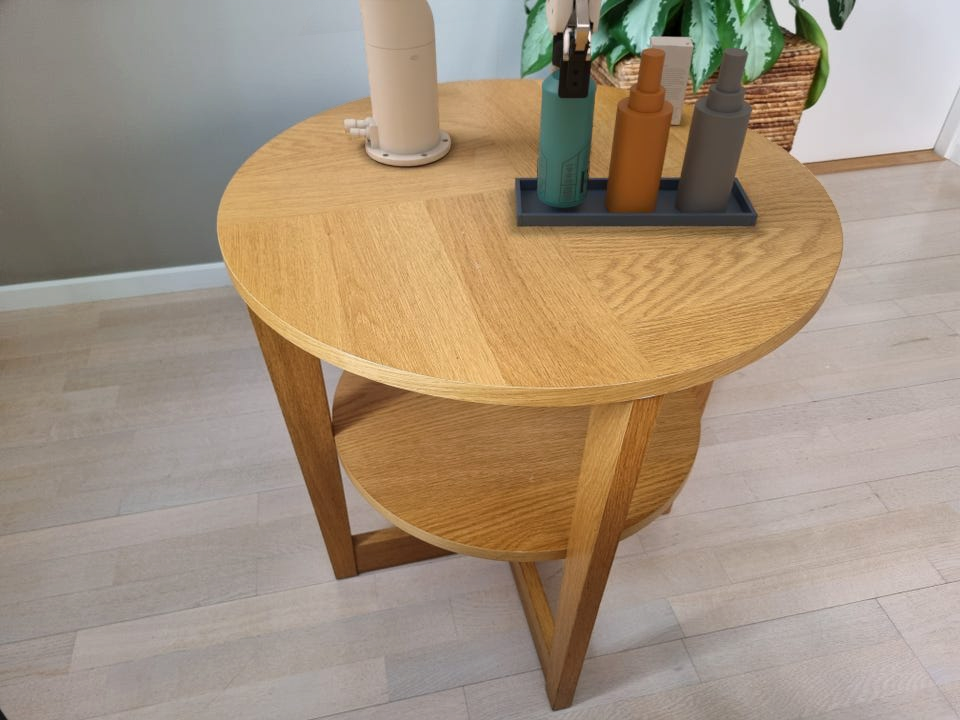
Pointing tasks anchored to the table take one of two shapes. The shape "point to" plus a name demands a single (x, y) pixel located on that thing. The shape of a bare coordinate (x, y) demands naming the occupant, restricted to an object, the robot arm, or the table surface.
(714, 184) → the grey bottle
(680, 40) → the cosmetic box
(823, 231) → the table surface
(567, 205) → the beverage bottle
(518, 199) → the tray
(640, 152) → the amber bottle
